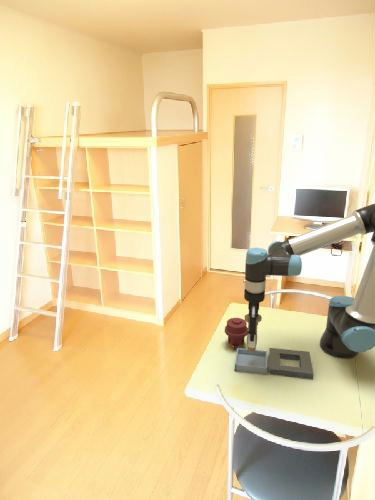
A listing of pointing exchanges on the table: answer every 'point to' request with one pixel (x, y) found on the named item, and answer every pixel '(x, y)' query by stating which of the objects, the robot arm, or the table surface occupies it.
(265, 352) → the tray
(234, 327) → the mechanical component
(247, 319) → the handle
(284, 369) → the slotted grey plate
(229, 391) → the table surface
